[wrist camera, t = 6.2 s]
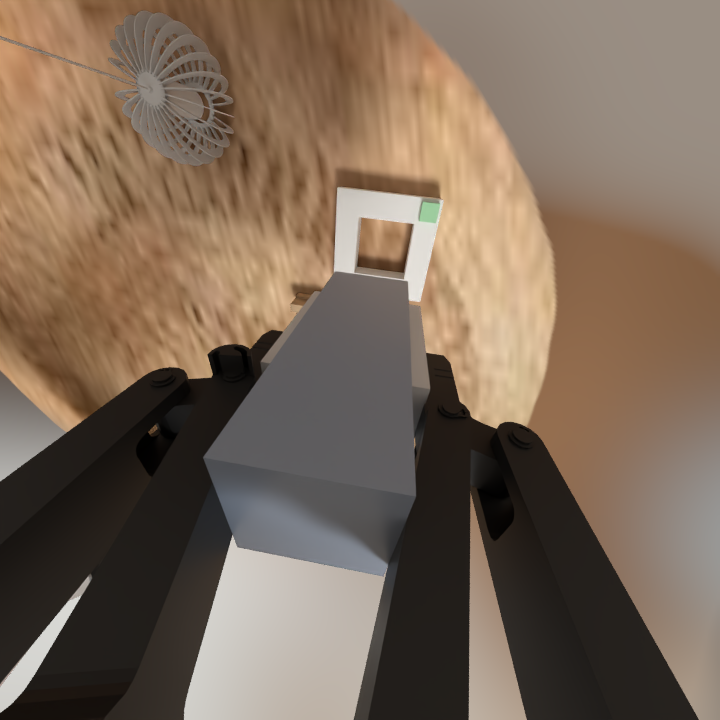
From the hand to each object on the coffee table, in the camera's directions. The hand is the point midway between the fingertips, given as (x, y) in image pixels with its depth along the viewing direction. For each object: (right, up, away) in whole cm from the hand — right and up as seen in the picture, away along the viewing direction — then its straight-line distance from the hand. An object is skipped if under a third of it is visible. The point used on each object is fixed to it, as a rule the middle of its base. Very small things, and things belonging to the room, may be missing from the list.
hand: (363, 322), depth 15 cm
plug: (0, +1, +1) cm, 2 cm away
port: (+2, +11, +16) cm, 19 cm away
